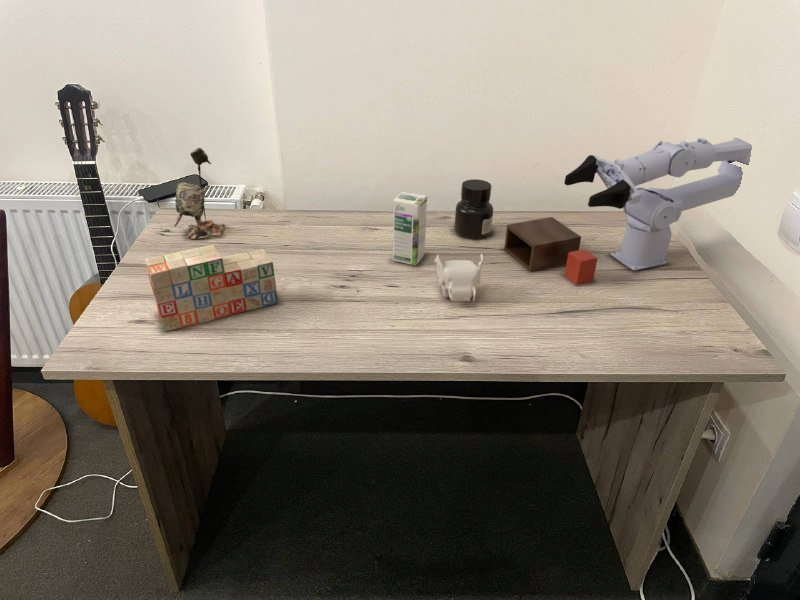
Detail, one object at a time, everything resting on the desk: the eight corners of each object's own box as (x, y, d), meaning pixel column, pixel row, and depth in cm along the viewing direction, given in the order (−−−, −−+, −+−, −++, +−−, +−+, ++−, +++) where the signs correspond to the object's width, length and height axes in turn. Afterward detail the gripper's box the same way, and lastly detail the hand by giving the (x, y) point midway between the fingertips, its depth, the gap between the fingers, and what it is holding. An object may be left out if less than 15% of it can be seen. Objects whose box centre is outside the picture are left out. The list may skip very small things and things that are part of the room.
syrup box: (391, 261, 132) (392, 199, 124) (401, 250, 136) (403, 189, 128) (416, 266, 130) (418, 204, 122) (425, 254, 134) (428, 194, 127)
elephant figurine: (437, 312, 115) (439, 272, 110) (431, 280, 125) (433, 242, 120) (486, 312, 115) (491, 271, 110) (476, 280, 125) (480, 242, 121)
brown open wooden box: (547, 241, 141) (552, 216, 138) (576, 262, 133) (581, 236, 129) (503, 249, 137) (506, 224, 134) (530, 271, 129) (534, 245, 125)
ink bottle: (493, 241, 141) (498, 193, 134) (455, 240, 141) (459, 192, 134) (488, 223, 149) (493, 177, 142) (452, 222, 149) (456, 176, 143)
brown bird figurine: (184, 224, 146) (169, 143, 135) (230, 226, 145) (218, 145, 134) (171, 239, 139) (153, 155, 128) (219, 241, 138) (205, 157, 127)
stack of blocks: (268, 289, 121) (262, 234, 114) (278, 304, 116) (272, 247, 110) (158, 315, 113) (143, 257, 106) (163, 332, 108) (149, 273, 101)
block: (580, 272, 129) (585, 248, 126) (592, 281, 126) (597, 257, 123) (564, 275, 128) (568, 252, 125) (576, 285, 124) (580, 261, 121)
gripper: (615, 136, 121) (559, 154, 118) (665, 174, 112) (605, 195, 109) (607, 165, 127) (553, 183, 123) (654, 204, 118) (597, 224, 114)
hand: (577, 191), depth 117 cm, fingers open, 7 cm apart
